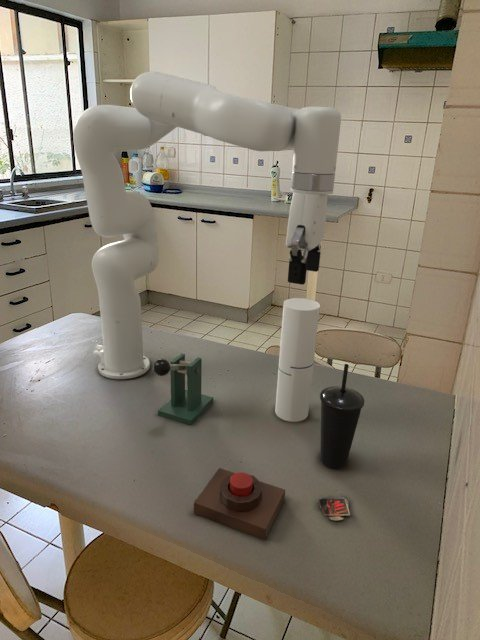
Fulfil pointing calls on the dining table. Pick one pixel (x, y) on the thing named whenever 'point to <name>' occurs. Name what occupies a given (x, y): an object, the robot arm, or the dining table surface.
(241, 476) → the button
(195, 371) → the switch bracket
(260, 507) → the switch block
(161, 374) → the switch lever
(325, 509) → the matchbox
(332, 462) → the drinking cup
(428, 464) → the dining table surface
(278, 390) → the cylindrical container
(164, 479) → the dining table surface
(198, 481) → the dining table surface
